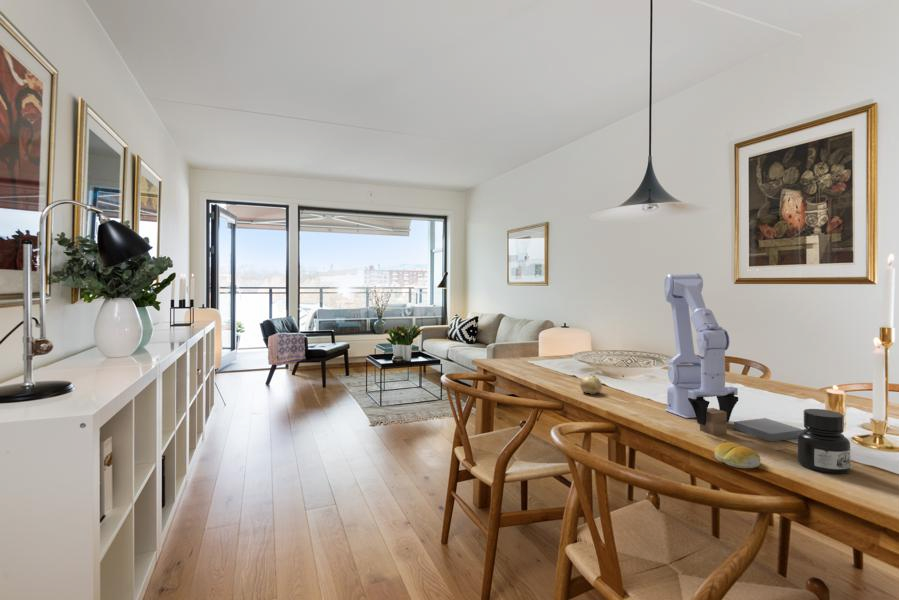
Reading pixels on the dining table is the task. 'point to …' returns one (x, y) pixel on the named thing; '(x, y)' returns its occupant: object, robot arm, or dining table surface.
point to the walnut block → (715, 422)
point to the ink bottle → (824, 442)
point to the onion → (591, 385)
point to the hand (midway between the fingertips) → (713, 422)
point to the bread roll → (737, 455)
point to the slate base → (767, 429)
